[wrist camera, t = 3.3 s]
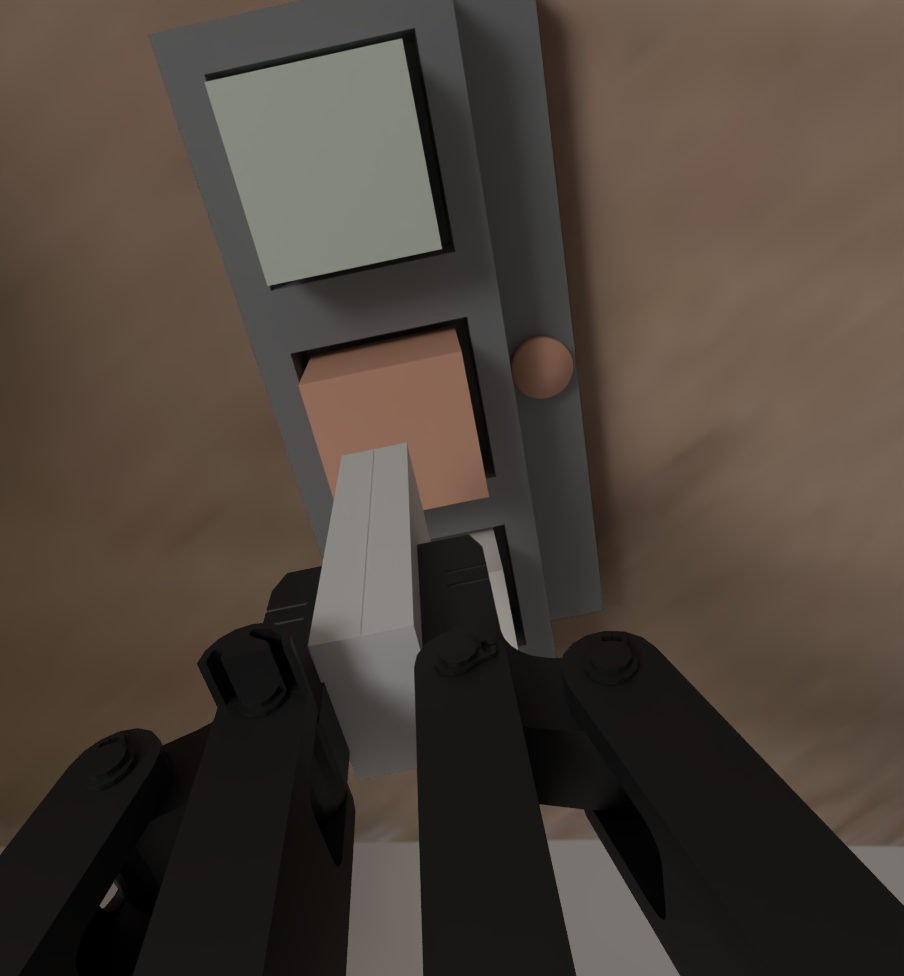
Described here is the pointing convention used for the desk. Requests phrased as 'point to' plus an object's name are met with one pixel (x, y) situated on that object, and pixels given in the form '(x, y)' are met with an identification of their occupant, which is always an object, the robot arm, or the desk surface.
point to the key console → (430, 270)
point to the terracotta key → (399, 411)
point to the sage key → (328, 161)
